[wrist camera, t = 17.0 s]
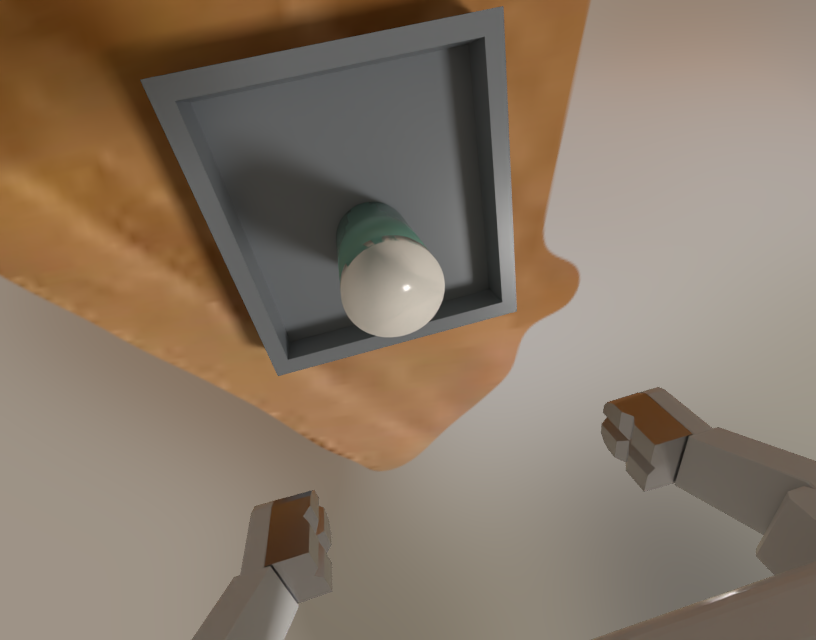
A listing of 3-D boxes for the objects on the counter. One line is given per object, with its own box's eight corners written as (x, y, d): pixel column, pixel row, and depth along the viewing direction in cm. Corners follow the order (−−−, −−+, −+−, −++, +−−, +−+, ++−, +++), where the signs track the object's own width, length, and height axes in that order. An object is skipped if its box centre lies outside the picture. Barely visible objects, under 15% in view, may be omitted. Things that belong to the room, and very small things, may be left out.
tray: (164, 84, 22) (140, 79, 19) (480, 19, 24) (503, 6, 21) (282, 351, 33) (278, 376, 30) (499, 293, 34) (516, 311, 31)
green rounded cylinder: (326, 211, 27) (327, 256, 18) (401, 193, 27) (436, 228, 19) (347, 281, 30) (356, 348, 21) (414, 264, 30) (451, 322, 22)
